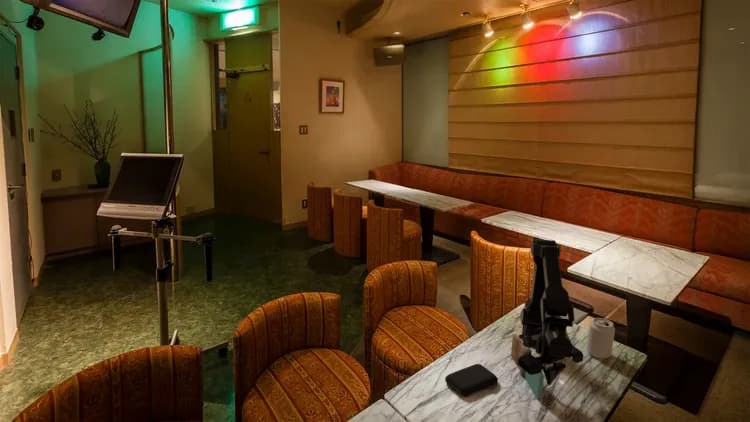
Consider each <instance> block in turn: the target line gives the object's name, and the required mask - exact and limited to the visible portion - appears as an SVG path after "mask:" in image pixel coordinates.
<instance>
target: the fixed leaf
mask: <svg viewBox="0 0 750 422" xmlns="http://www.w3.org/2000/svg"><path fill="white" fill-rule="evenodd" d="M532 351H533V350H531V348H528V347H525V346H524V345H523V341H522V339H521V338H520V337H519V335H518V334H516V333H514V334H512V339H511V351H510V352H511V353H510V356H511V358H512V360H513V361H514V363H515V365H516V366H517V368H518V369H519V371H520V373H519V374H520V377H523V378H525V370H522V369H521V367H520V366H519V365H518V358H519V357H520V356H523V355H527V354H531V355H533V353H532Z"/></svg>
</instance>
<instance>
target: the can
mask: <svg viewBox="0 0 750 422" xmlns="http://www.w3.org/2000/svg"><path fill="white" fill-rule="evenodd" d="M615 333H616V328H615V326H614V322H613V321H611V320H609V319H607V318H602V317H596V318H593V319H592V321H591V322H590V323H589V329H588V336H587V342H586V351H587V353H588V354H590V356H592V357H594V358H596V359H601V360H606V359H608V358H610V357H612V353H613V352H612V351H613V345H614V339H615Z"/></svg>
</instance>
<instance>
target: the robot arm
mask: <svg viewBox="0 0 750 422" xmlns="http://www.w3.org/2000/svg"><path fill="white" fill-rule="evenodd" d="M529 249H530V254H531V256H532V260H533V262H534V271H533V276H532V284H531V285H532V286H531V293H530V297H529V298H528V299H527V300H526V301H525V302H524V305H523V308H522V310H521V311H520V313H519V314H520V317H519V318H520V324H521V325H522V330H521V334H518V337H519V339H521V340H522V343H523V345H524V346H525V347H526V348H528V349H533V350H535V353H536V354H538V356H536V357H535V356H534V355H533V354H527V355H523V356H520V357H519V358H518V365H519V366H520V367H521V368H523V369H524V370H525V371H526V372H527V373H528V374H530V375H534V374H538V373H540V372H542V373H543V375H544V379H545V380H546V385H548V386H551V385H552V383H553V382H554V381H555V379H556V378H557V377H558V376H559V375H560V374H561V373H562V371H563V370H565V369H566V368H567V365H566V364H565V363H564V360H568V359H571V358H572V362H574V363H575V364H577V363H581V362H583V361H584V353H583V352H582V350H580V349H579V348H577V347H575V346H574V345H573V344H572V341H571V338H570V336H569V334H568V331H567V327H571V328H572V327H574V324H573V323H574V322H575V321H576V319H575V311H574V304H573V301H572V300H571V299H570V295H569V292H568V291H567V289H566V288H565V287H564V286H563V282H562V273H561V267H560V259H559V258H560V257H561V254H562V253H561V249H562V245H561V244H559V243H556V240H552V239H551V240H549V239H534V240H532V242H530V248H529ZM563 317H565V318H563ZM566 317H567V318H566ZM539 355H540V356H539Z"/></svg>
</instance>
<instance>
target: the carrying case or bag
mask: <svg viewBox="0 0 750 422" xmlns="http://www.w3.org/2000/svg"><path fill="white" fill-rule="evenodd" d="M444 381H445V383H446V384H447V385H449V387H451V388H452V389H453V390H454V391H455V390H456V391H455V392H457V394H459V395H460V396H462V397H469V396H471V395H473V394H476V393H479V392H482V391H484V390H486V389H489V388H491V389H494V388H495V387H496V386H498V383H499V379H498V377H497V376H496V375H495V373H493V372H492V371H490V370H489V369H488V368H487V367H485V366H484V365H482V364H481V363H475V364H473V365H470V366H467V367H464V368H461V369H459V370H456V371H454V372H451V373H449V374H448V375H446V376H445V378H444Z"/></svg>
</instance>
